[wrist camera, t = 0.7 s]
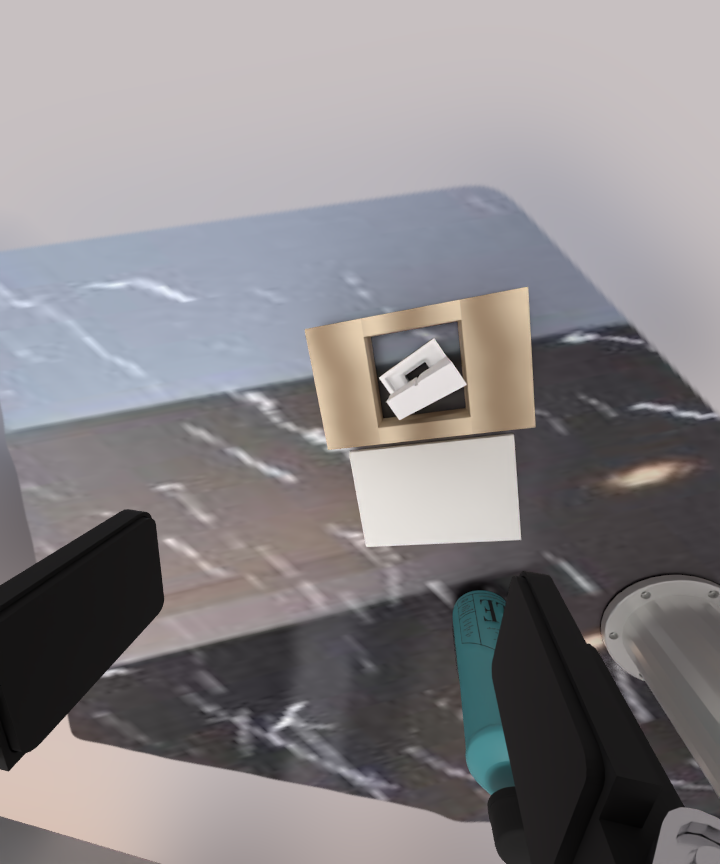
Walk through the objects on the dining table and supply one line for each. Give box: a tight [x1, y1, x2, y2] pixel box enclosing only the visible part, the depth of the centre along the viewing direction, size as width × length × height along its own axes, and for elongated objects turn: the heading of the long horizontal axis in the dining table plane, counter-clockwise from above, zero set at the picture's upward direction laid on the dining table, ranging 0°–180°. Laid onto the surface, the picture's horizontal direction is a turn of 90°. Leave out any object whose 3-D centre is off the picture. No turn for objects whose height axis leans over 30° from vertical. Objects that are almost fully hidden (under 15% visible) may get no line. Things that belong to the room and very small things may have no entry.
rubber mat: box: [349, 433, 521, 547], centre depth 36 cm, size 16×11×1 cm
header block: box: [305, 287, 535, 450], centre depth 32 cm, size 18×11×4 cm, turn 100°
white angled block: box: [379, 338, 467, 420], centre depth 30 cm, size 4×10×9 cm, turn 127°
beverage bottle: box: [452, 590, 531, 864], centre depth 29 cm, size 6×7×20 cm
